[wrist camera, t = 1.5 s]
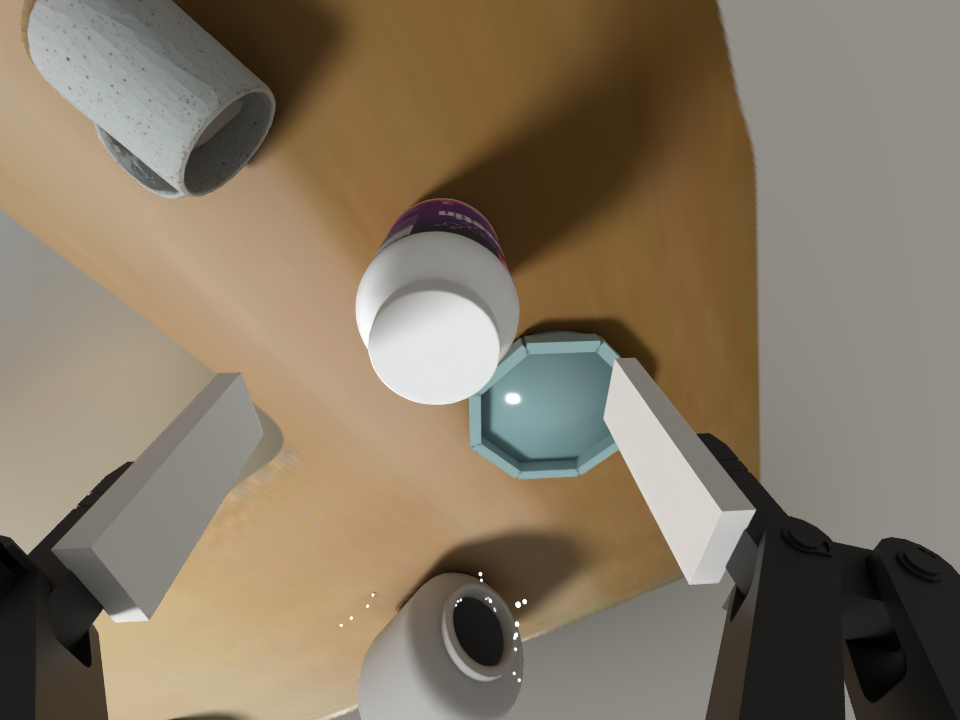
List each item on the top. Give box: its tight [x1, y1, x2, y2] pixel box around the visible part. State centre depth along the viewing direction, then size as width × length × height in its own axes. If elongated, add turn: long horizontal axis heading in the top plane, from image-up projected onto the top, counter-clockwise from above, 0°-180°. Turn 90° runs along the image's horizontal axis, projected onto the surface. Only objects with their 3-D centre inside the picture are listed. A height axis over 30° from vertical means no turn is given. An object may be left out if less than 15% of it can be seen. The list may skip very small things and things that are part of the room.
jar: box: [340, 572, 527, 720], centre depth 44 cm, size 19×15×25 cm
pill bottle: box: [356, 198, 519, 405], centre depth 23 cm, size 8×8×14 cm
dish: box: [469, 330, 622, 479], centre depth 36 cm, size 15×15×2 cm
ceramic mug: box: [21, 0, 276, 199], centre depth 21 cm, size 10×8×7 cm
